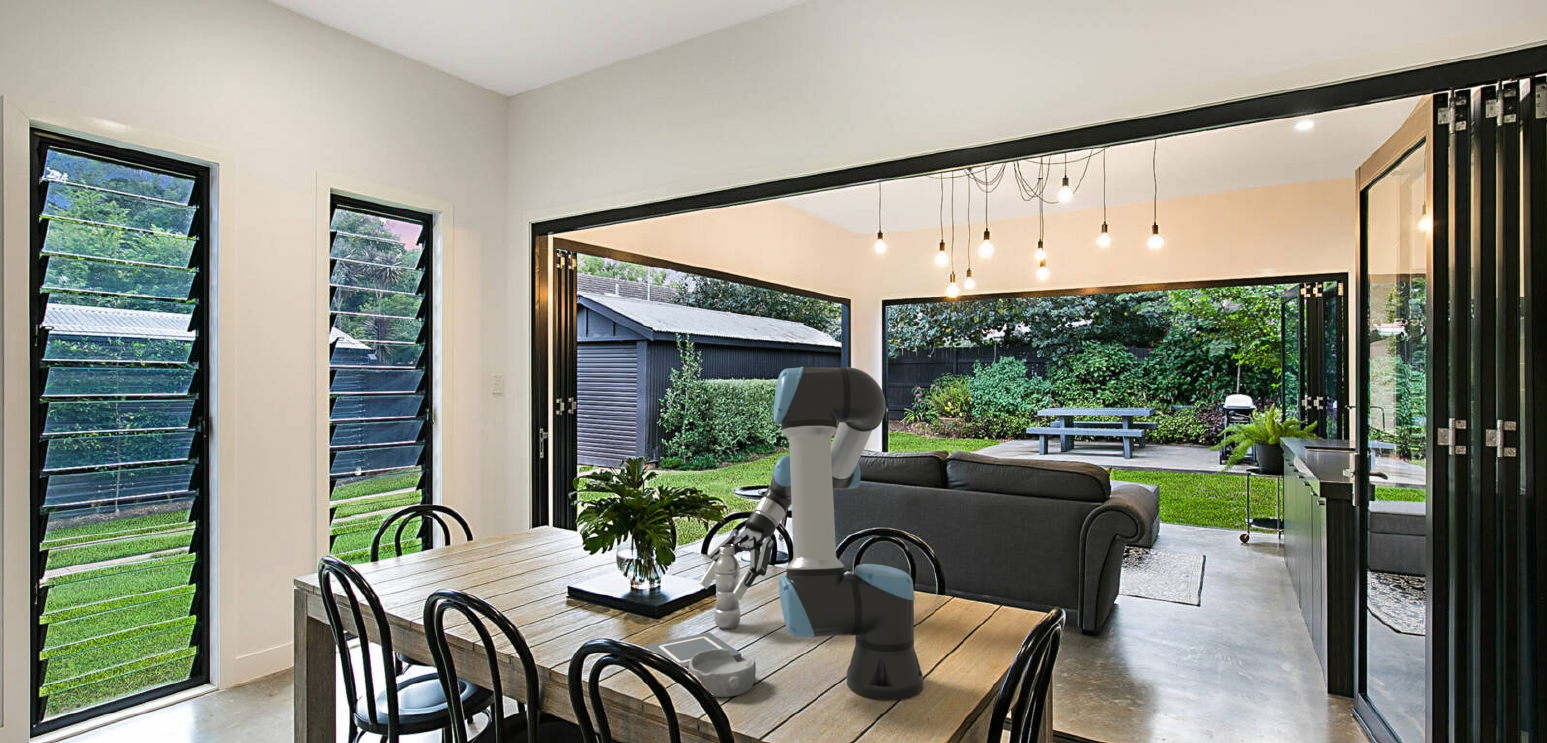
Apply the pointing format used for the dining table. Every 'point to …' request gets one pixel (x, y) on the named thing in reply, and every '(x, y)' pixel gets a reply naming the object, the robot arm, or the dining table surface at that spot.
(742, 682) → the dish
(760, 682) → the dining table surface
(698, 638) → the slate board
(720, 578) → the plastic bottle
